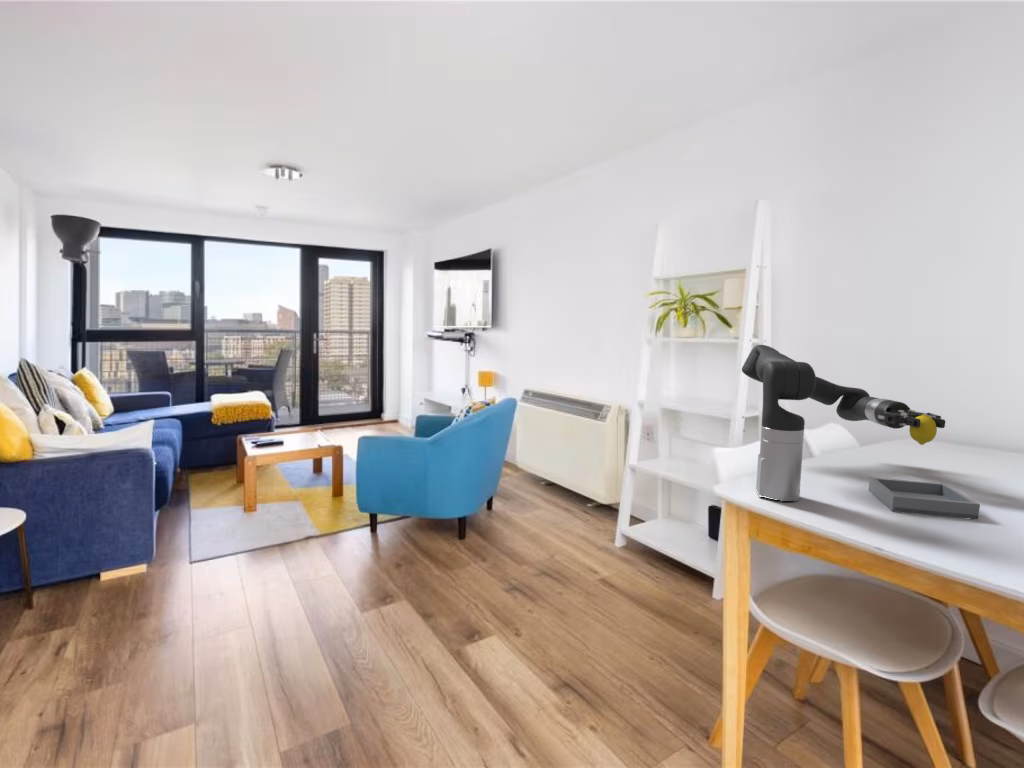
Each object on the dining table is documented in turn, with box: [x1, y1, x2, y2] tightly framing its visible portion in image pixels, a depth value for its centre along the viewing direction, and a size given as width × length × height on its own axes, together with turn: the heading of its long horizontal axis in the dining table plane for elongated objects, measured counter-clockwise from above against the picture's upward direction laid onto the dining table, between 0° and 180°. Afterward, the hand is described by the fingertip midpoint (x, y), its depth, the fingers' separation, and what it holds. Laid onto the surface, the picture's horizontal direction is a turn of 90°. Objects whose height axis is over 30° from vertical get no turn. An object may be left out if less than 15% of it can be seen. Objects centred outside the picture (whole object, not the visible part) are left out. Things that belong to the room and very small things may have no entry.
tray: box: [868, 477, 981, 520], centre depth 124 cm, size 16×16×4 cm
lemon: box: [908, 414, 938, 446], centre depth 135 cm, size 6×6×8 cm
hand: (931, 423), depth 132 cm, fingers closed on lemon, 5 cm apart
